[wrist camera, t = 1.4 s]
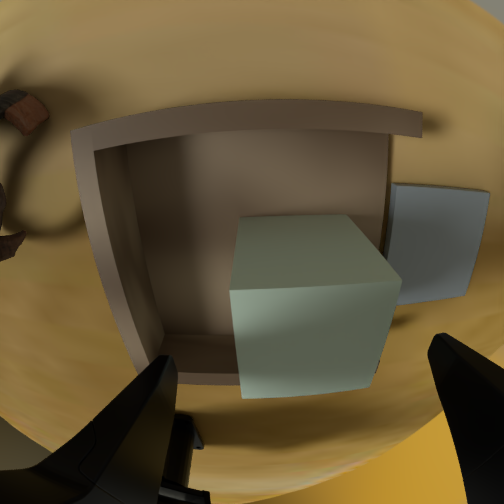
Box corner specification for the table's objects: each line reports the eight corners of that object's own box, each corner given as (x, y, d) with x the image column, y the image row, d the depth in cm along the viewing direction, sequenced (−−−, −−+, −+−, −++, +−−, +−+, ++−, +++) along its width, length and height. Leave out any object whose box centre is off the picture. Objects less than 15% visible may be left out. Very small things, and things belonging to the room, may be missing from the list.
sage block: (337, 302, 15) (369, 386, 10) (245, 307, 15) (241, 398, 10) (346, 214, 13) (402, 280, 8) (239, 217, 13) (229, 290, 8)
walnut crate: (359, 334, 17) (375, 373, 14) (155, 340, 17) (141, 380, 14) (384, 111, 11) (422, 112, 8) (109, 125, 11) (70, 130, 8)
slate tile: (460, 290, 15) (464, 295, 15) (374, 301, 16) (377, 307, 15) (484, 190, 12) (490, 193, 12) (391, 182, 13) (396, 185, 12)
